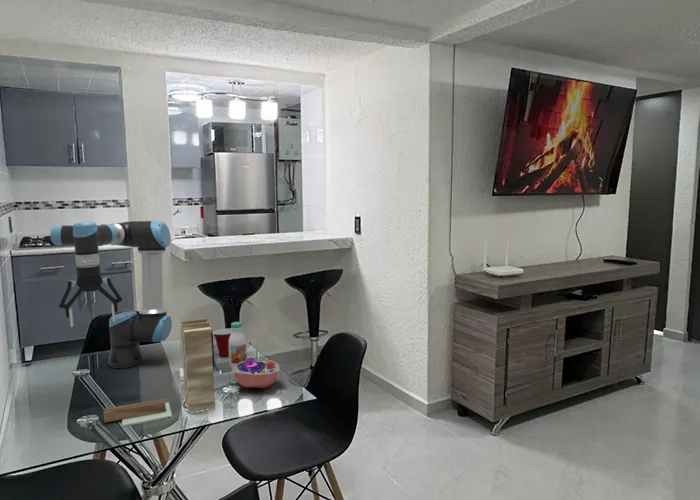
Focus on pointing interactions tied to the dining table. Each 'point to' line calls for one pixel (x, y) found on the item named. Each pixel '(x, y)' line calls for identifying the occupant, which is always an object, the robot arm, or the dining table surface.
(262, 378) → the cell model
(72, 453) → the dining table surface
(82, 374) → the dining table surface
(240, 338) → the milk bottle
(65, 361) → the dining table surface
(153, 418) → the mat
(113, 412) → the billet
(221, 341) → the plastic cup
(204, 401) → the wooden block tower
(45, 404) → the dining table surface
